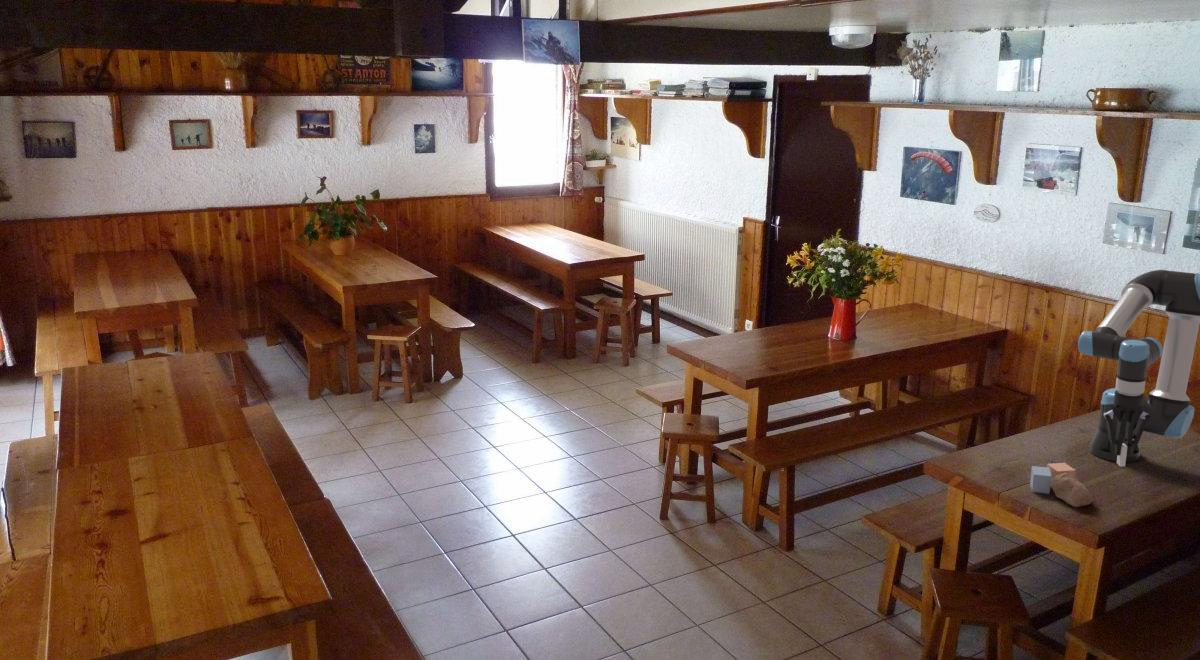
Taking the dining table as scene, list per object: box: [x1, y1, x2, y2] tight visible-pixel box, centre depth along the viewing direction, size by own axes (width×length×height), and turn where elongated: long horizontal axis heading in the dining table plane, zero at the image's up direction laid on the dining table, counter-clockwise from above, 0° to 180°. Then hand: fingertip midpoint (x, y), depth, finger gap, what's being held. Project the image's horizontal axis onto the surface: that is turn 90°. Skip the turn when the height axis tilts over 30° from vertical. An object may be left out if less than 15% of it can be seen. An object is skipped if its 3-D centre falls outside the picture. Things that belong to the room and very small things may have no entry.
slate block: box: [1029, 465, 1051, 495], centre depth 294 cm, size 5×7×6 cm
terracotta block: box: [1046, 462, 1077, 487], centre depth 297 cm, size 6×6×6 cm
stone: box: [1051, 473, 1094, 508], centre depth 286 cm, size 12×9×10 cm
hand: (1120, 464), depth 283 cm, fingers closed
